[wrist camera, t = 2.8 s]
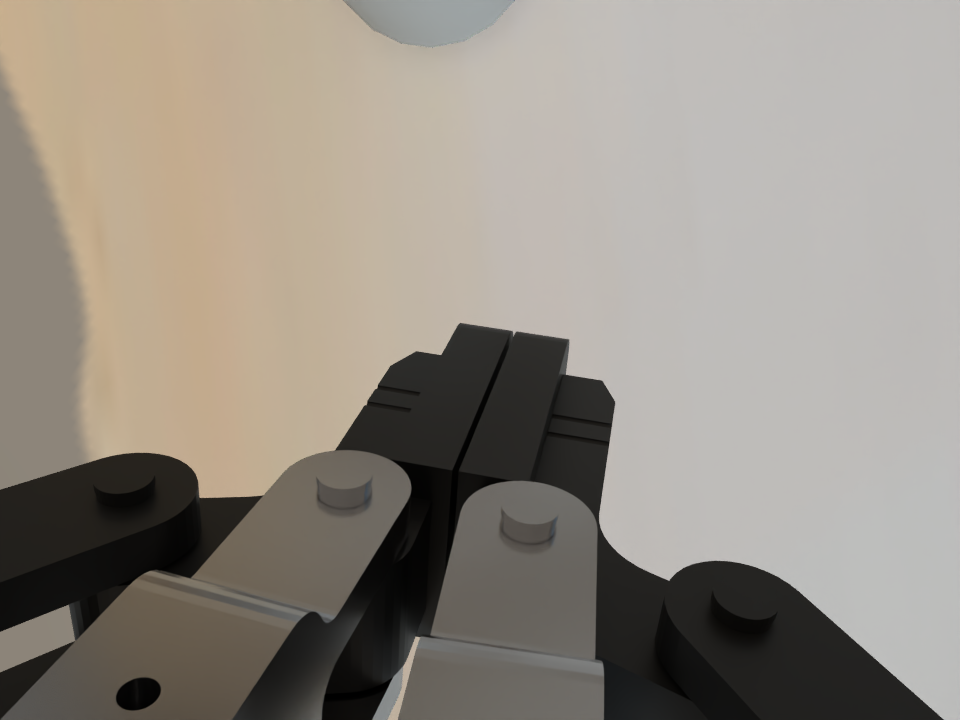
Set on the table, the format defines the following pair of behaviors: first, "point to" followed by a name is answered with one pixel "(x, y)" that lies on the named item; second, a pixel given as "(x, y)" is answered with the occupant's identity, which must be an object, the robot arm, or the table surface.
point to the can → (429, 19)
